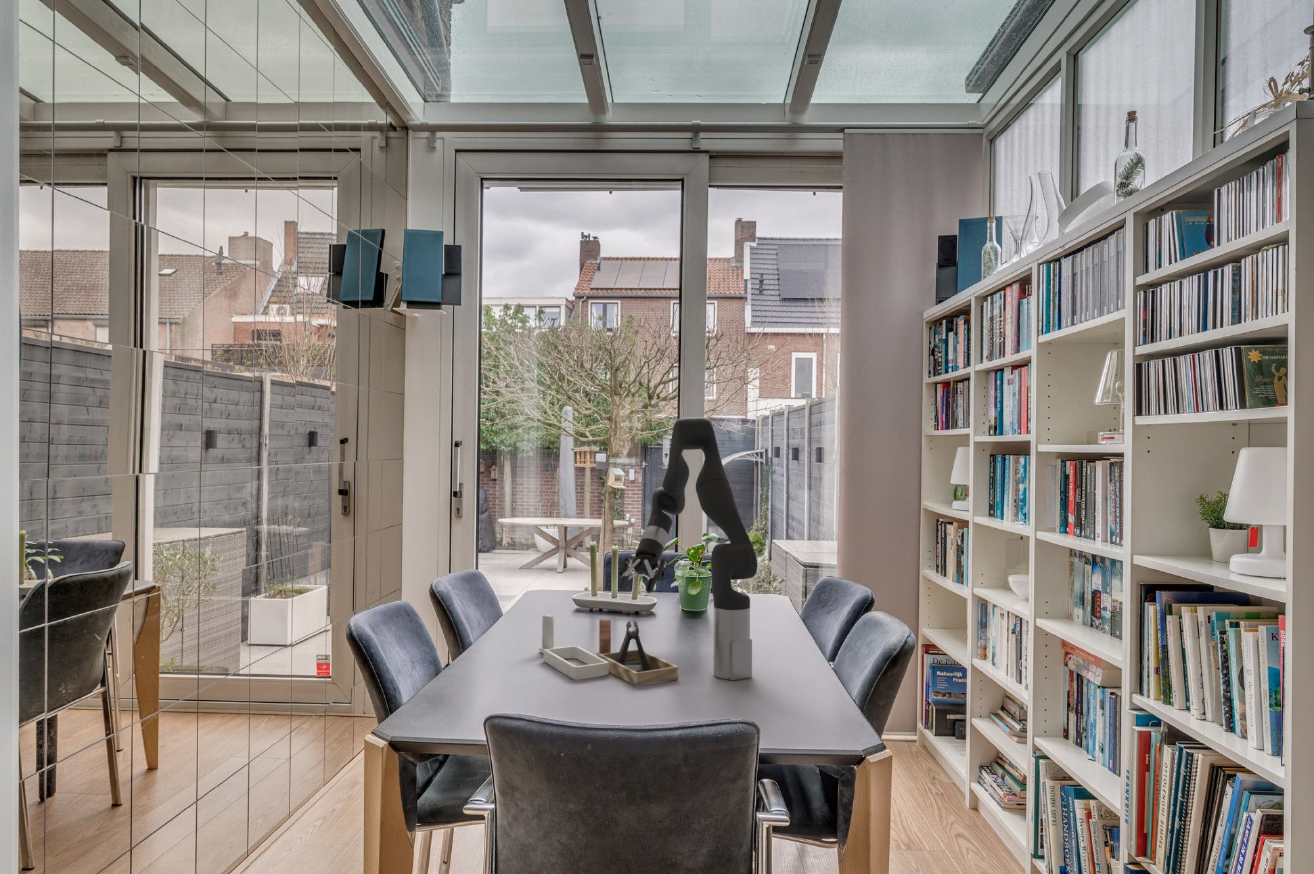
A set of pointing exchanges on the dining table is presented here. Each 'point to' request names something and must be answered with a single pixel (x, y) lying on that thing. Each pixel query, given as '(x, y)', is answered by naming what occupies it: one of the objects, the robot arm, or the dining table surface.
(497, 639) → the dining table surface
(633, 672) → the oak frame
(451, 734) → the dining table surface
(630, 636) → the dark metal pliers
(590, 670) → the white frame
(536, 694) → the dining table surface
